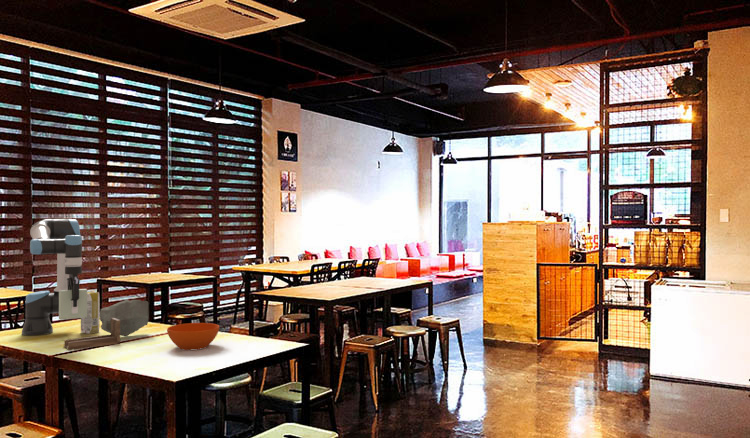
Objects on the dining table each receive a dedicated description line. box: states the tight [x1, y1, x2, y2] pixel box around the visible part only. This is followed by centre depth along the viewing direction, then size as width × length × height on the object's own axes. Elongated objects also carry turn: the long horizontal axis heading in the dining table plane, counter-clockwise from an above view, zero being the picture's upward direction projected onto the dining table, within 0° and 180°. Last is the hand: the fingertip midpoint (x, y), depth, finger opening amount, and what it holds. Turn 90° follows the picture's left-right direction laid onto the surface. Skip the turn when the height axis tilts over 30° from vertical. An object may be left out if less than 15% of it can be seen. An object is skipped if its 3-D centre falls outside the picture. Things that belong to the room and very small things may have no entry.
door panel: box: [58, 288, 88, 321], centre depth 291 cm, size 4×12×14 cm, turn 131°
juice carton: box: [80, 289, 101, 335], centre depth 330 cm, size 9×8×24 cm
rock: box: [99, 299, 150, 337], centre depth 319 cm, size 27×6×20 cm, turn 137°
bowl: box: [166, 322, 220, 351], centre depth 293 cm, size 25×25×10 cm
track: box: [63, 318, 121, 351], centre depth 297 cm, size 10×24×12 cm, turn 131°
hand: (73, 312), depth 291 cm, fingers closed on door panel, 4 cm apart
